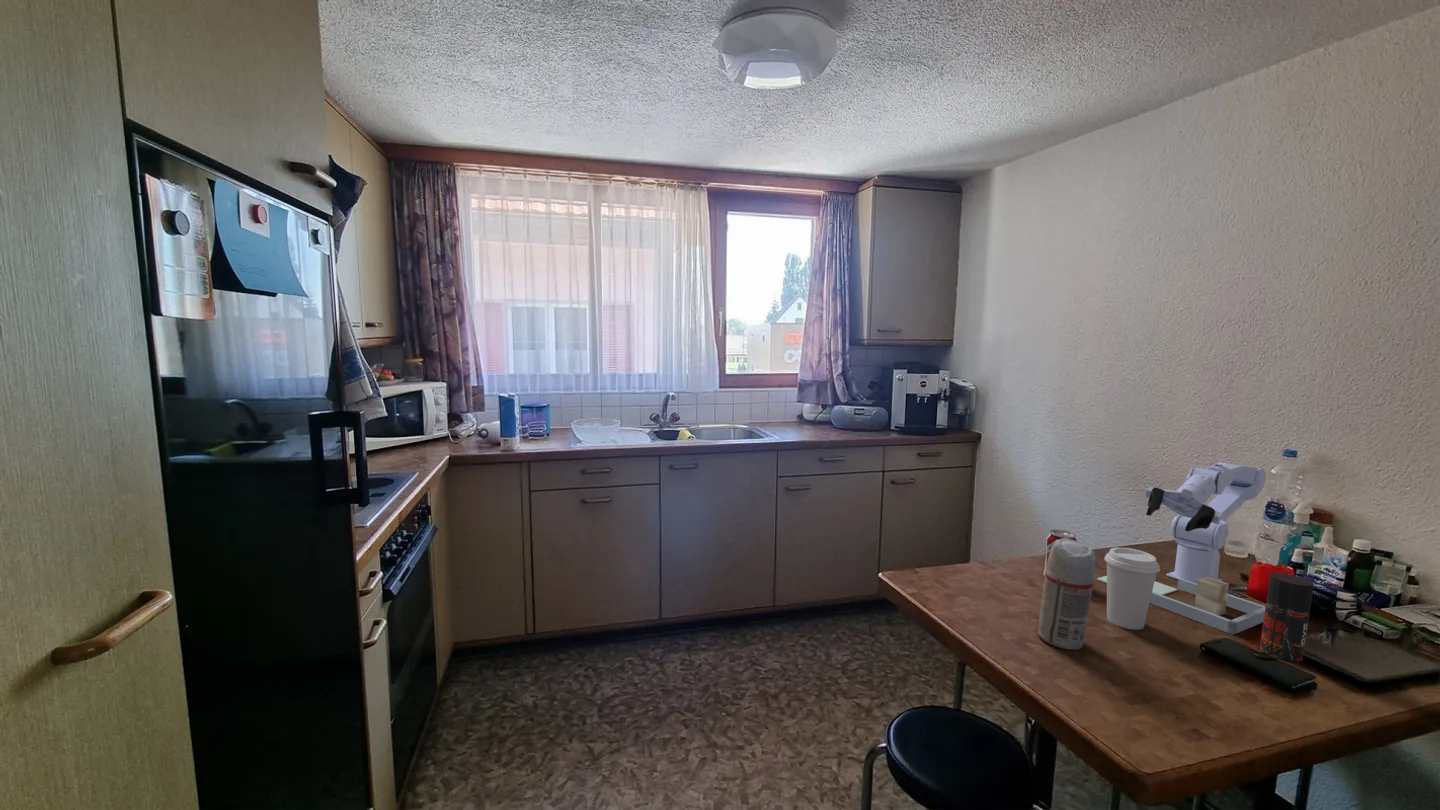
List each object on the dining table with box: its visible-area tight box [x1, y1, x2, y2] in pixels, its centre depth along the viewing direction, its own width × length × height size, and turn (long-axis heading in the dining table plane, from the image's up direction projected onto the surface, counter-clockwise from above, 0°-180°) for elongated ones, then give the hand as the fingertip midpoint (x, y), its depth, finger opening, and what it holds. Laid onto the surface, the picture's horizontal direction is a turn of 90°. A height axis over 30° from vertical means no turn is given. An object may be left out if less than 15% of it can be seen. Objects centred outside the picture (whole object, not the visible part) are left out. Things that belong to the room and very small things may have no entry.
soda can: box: [1042, 529, 1078, 577], centre depth 143 cm, size 7×7×12 cm
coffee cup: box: [1104, 547, 1161, 631], centre depth 122 cm, size 10×10×15 cm
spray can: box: [1036, 538, 1097, 650], centre depth 113 cm, size 8×8×20 cm
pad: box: [1096, 575, 1179, 596], centre depth 142 cm, size 12×12×1 cm
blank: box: [1193, 577, 1230, 617], centre depth 128 cm, size 4×4×7 cm
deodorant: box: [1259, 572, 1315, 663], centre depth 111 cm, size 6×6×15 cm
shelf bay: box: [1149, 578, 1266, 636], centre depth 129 cm, size 16×17×2 cm
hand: (1167, 519), depth 132 cm, fingers open, 7 cm apart
